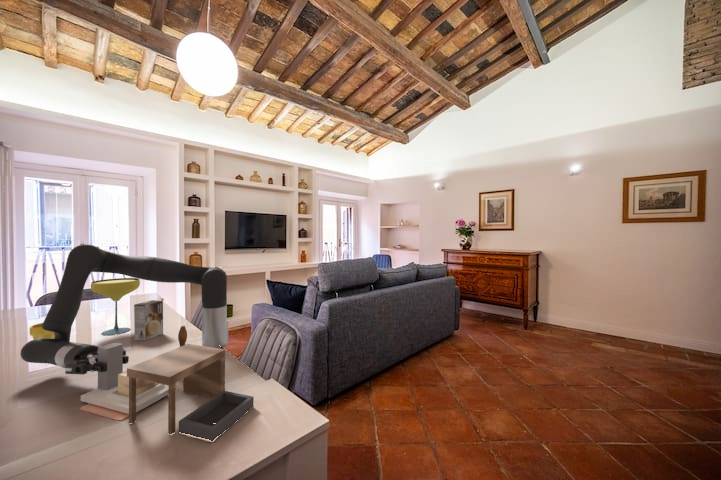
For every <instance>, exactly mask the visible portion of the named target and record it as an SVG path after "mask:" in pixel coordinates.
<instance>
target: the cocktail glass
mask: <svg viewBox="0 0 721 480" xmlns="http://www.w3.org/2000/svg"><path fill="white" fill-rule="evenodd" d="M140 285H141V279H139V278H134V277H123V278H120V277H119V278H108V279H99V280H94V281H91V283H90V289H91V291H92V292H93V293H95V294H97V295H100V296H103V297H106V298H109V299H111V301H113V302H115V303H114V305H115V308H114V309H115V311H114V312H115V313H114V314H115V316H114V317H115V319H114V327H113V328H111V329H108V330H104V331H102V332H101V336H106V335H107V336H115V334H117V335H121V334H120V333H122V334H125V333H128V332H130V331H131V328H130V327H119V326H118V324H119V323H118V301H120V300H121V299H122V298H123V297H124V296H126V295H128V294H130V293H132V292H134V291H135V290H137V289H138V288H140ZM129 330H130V331H129ZM127 331H128V332H127Z"/></svg>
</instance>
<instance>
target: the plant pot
mask: <svg viewBox="0 0 721 480" xmlns="http://www.w3.org/2000/svg"><path fill="white" fill-rule="evenodd" d="M42 324H43V322H39V323H35V324H32V325H31V326H29V336H32V340H34V339H54V338H55V334H54V332H51V331H47V330H44V329H43V328H42Z"/></svg>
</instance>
